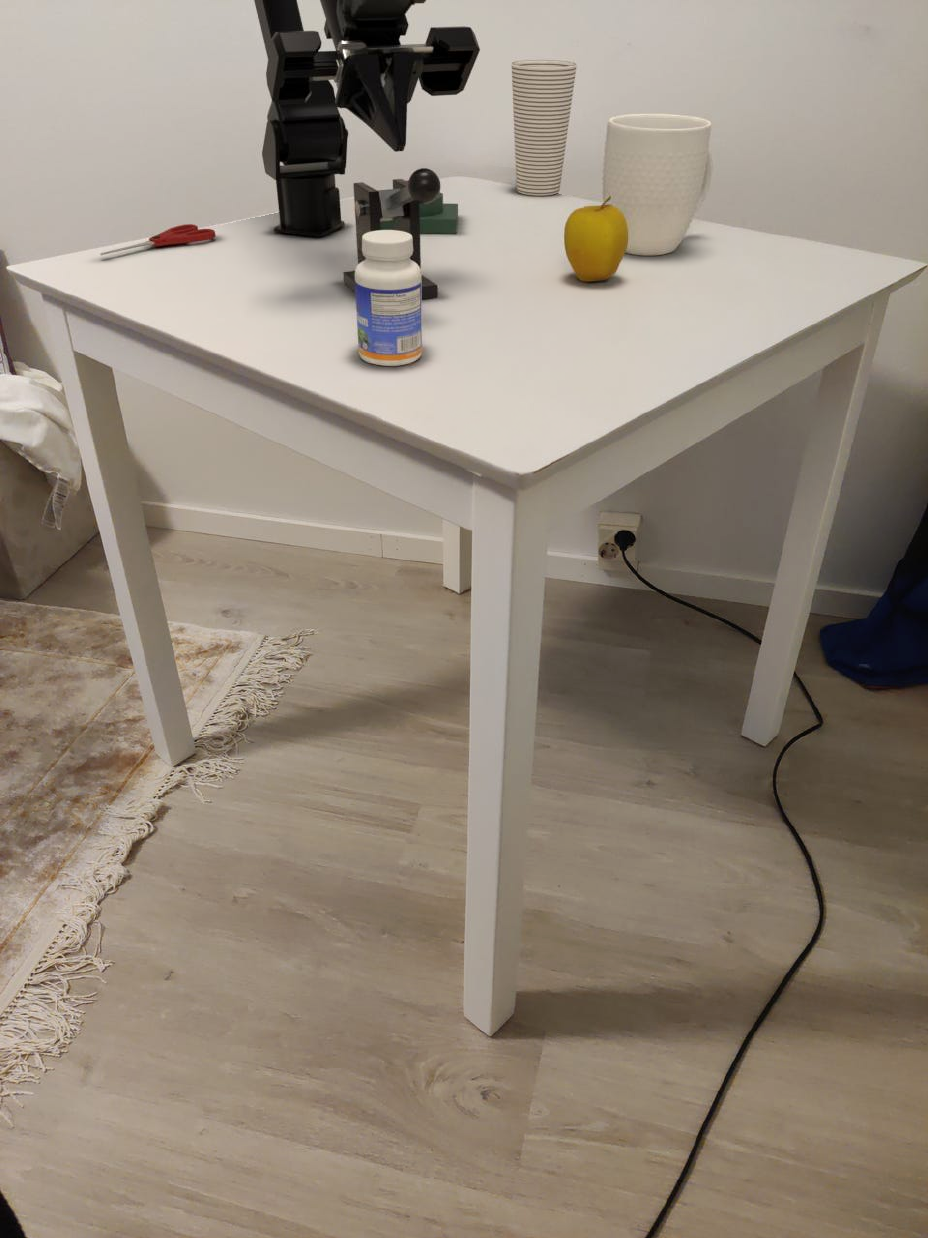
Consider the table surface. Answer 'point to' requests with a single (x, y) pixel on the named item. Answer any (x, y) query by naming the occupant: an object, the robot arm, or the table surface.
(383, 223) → the button box
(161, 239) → the scissors
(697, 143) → the mug
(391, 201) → the lever
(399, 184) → the bracket
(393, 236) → the pill bottle
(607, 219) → the apple
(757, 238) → the table surface
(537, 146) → the cup
